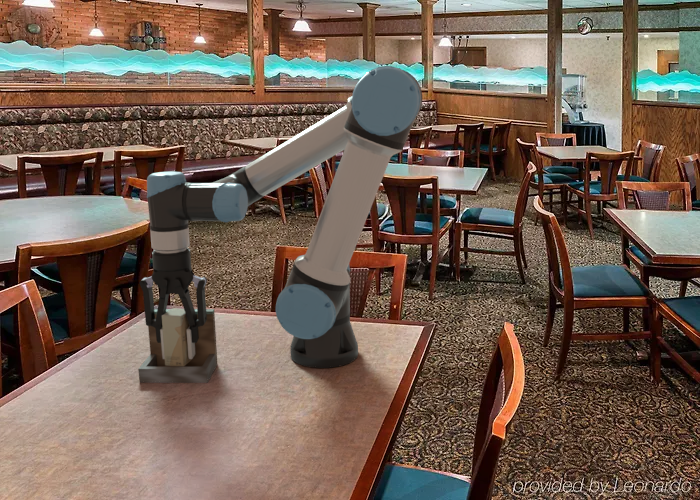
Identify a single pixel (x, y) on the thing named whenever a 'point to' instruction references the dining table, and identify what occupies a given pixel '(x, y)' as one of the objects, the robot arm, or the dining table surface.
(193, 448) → the dining table surface
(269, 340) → the dining table surface
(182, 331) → the box
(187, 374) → the cleat board
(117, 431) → the dining table surface
